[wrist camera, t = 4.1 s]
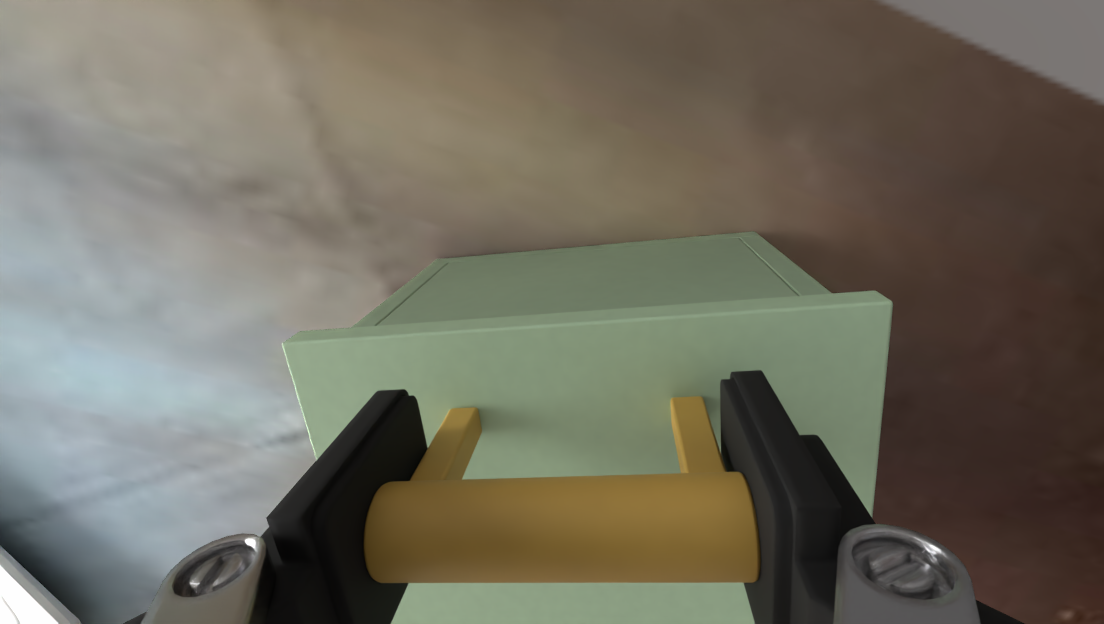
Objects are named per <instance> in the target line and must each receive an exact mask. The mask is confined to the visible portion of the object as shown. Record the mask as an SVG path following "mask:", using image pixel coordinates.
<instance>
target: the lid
mask: <svg viewBox="0 0 1104 624" xmlns="http://www.w3.org/2000/svg"><path fill="white" fill-rule="evenodd" d="M892 309H893V303H892V301H891V300H889V299H888V298H886V297H885V296H883V295H882V294H880V293H879V292H877V291H861V292H847V293H833V294H819V295H805V296H791V297H776V298H762V299H748V300H734V301H720V302H706V303H692V304H678V305H664V306H649V307H635V308H621V309H607V310H593V311H579V312H565V313H551V314H537V315H523V316H508V317H494V318H480V319H466V320H452V321H438V322H424V323H410V324H396V325H381V326H367V327H353V328H339V329H325V330H311V331H300V332H298V333H297V334H295V335H294V336H292V337H291V338H289V339H288V340H286V341H285V342H283V344H282V346H283V349H284V353H285V356H286V360H287V363H288V366H289V370H290V373H291V376H292V380H293V383H294V386H295V390H296V393H297V396H298V400H299V403H300V407H301V410H302V413H303V417H304V420H305V423H306V427H307V430H308V433H309V437H310V440H311V444H312V447H313V450H314V454H315V457H316V460H317V459H318V458H319V457H320V456H321V455H322V453H323V452H324V451H325V450H326V449H327V448H328V447H329V445H330V444H331V443H332V442H333V441H334V440H335V439H336V437H337V436H338V435H339V434H340V433H341V432H342V430H343V429H344V428H345V427H346V426H347V425H348V424H349V422H350V421H351V420H352V419H353V418H354V417H355V416H356V414H357V413H358V412H359V411H360V410H361V409H362V407H363V406H364V405H365V404H366V403H367V402H368V401H369V399H370V398H371V397H372V396H373V395H374V394H375V393H376V392H377V391H379V390H397V389H405V390H406V391H407V392H408V394H409V396H411V395H414V396H415V397H416V399H417V402H418V406H419V410H420V415H421V420H422V424H423V429H424V433H425V438H426V443H427V447H428V449H427V451H426V453H425V454H424V456H423V458H422V460H421V461H420V463H419V465H418V467H417V468H416V470H415V472H414V474H413V476H412V477H411V479H410V481H393V482H388V483H386V484H384V485H382V486H381V487H380V488H379V489H378V490H377V492H376V493H375V495H374V497H373V499H372V501H371V504H370V506H369V510H368V513H367V517H366V522H365V528H364V558H365V563H366V567H367V570H368V572H369V574H370V576H371V577H372V578H373V579H374V580H375V581H377V582H379V583H409V584H408V586H407V588H406V590H405V593H404V595H403V597H402V600H401V602H400V604H399V606H398V609H397V611H396V613H395V615H394V618H393V620H392V622H391V624H755V622H754V619H753V615H752V611H751V608H750V604H749V601H748V597H747V593H746V590H745V586H744V583H753V582H755V581H757V580H758V578H759V574H760V564H761V556H760V540H759V531H758V524H757V517H756V512H755V507H754V502H753V498H752V494H751V491H750V487H749V485H748V482H747V480H746V478H745V476H744V475H743V474H742V473H740V472H727V471H726V468H725V465H724V462H723V459H722V455H721V417H720V382H721V379H730V374H731V372H735V371H754V370H761V371H762V372H763V373H764V375H765V377H766V378H767V380H768V382H769V384H770V385H771V387H772V389H773V390H774V392H775V394H776V395H777V397H778V399H779V401H780V402H781V404H782V406H783V407H784V409H785V411H786V413H787V414H788V416H789V418H790V419H791V421H792V423H793V425H794V426H795V428H796V430H797V431H798V433H799V435H813V434H814V435H818V436H819V437H820V439H821V440H822V441H823V443H824V444H825V446H826V447H827V449H828V450H829V452H830V454H831V455H832V457H833V458H834V460H835V461H836V463H837V464H838V466H839V467H840V469H841V471H842V472H843V474H844V475H845V477H846V478H847V480H848V481H849V483H850V485H851V486H852V488H853V489H854V491H855V492H856V494H857V495H858V497H859V499H860V500H861V502H862V503H863V505H864V506H865V508H866V509H867V511H868V512H869V514H870V516H871V517H872V515H873V505H874V494H875V484H876V474H877V464H878V453H879V443H880V433H881V423H882V412H883V402H884V392H885V381H886V371H887V361H888V351H889V340H890V330H891V320H892Z"/></svg>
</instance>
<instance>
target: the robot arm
mask: <svg viewBox="0 0 1104 624" xmlns="http://www.w3.org/2000/svg"><path fill="white" fill-rule="evenodd" d="M720 417H721V455H722V459H723V462H724V465H725V468H726V471H727V472H740V473H742V474H743V475H744V476H745V478H746V480H747V482H748V485H749V487H750V491H751V494H752V498H753V502H754V507H755V512H756V517H757V524H758V531H759V540H760V556H761V564H760V574H759V578H758V580H757V581H755V582H753V583H744V586H745V590H746V593H747V597H748V601H749V604H750V608H751V611H752V615H753V619H754V622H755V624H1024V623H1022V622H1020V621H1018V620H1016V619H1014V618H1012V617H1010V616H1008V615H1006V614H1004V613H1002V612H1000V611H997V610H995V609H993V608H991V607H989V606H987V605H985V604H983V603H981V602H979V601H977V600H975V595H974V590H973V586H972V581H971V578H970V576H969V574H968V572H967V569H966V567H965V565H964V564H963V563H962V562H961V561H960V560H959V559H958V558H957V557H956V555H955V554H954V553H953V552H951V551H950V550H949V549H947V548H946V547H944V546H943V545H942V544H940V543H939V542H937V541H936V540H934V539H932V538H929V537H927V536H925V535H923V534H921V533H919V532H916V531H913V530H910V529H906V528H903V527H900V526H893V525H885V524H876V523H875V522H874V520H873V519H872V517H871V516H870V514H869V512H868V511H867V509H866V508H865V506H864V505H863V503H862V502H861V500H860V499H859V497H858V495H857V494H856V492H855V491H854V489H853V488H852V486H851V485H850V483H849V481H848V480H847V478H846V477H845V475H844V474H843V472H842V471H841V469H840V467H839V466H838V464H837V463H836V461H835V460H834V458H833V457H832V455H831V454H830V452H829V450H828V449H827V447H826V446H825V444H824V443H823V441H822V440H821V439H820V437H819V436H818V435H814V434H813V435H799V433H798V431H797V430H796V428H795V426H794V425H793V423H792V421H791V419H790V418H789V416H788V414H787V413H786V411H785V409H784V407H783V406H782V404H781V402H780V401H779V399H778V397H777V395H776V394H775V392H774V390H773V389H772V387H771V385H770V384H769V382H768V380H767V378H766V377H765V375H764V373H763V372H762V371H761V370H754V371H735V372H731V374H730V379H721V382H720ZM427 449H428V447H427V443H426V438H425V433H424V429H423V424H422V420H421V415H420V410H419V406H418V402H417V399H416V397H415V396H414V395H411V396H409V394H408V392H407V391H406V390H405V389H397V390H379V391H377V392H376V393H375V394H374V395H373V396H372V397H371V398H370V399H369V401H368V402H367V403H366V404H365V405H364V406H363V407H362V409H361V410H360V411H359V412H358V413H357V414H356V416H355V417H354V418H353V419H352V420H351V421H350V422H349V424H348V425H347V426H346V427H345V428H344V429H343V430H342V432H341V433H340V434H339V435H338V436H337V437H336V439H335V440H334V441H333V442H332V443H331V444H330V445H329V447H328V448H327V449H326V450H325V451H324V452H323V453H322V455H321V456H320V457H319V458H318V459H317V460H316V462H315V463H314V464H313V465H312V466H311V467H310V468H309V470H308V471H307V472H306V473H305V474H304V475H303V477H302V478H301V479H300V480H299V481H298V482H297V483H296V485H295V486H294V487H293V488H292V489H291V490H290V491H289V493H288V494H287V495H286V496H285V497H284V498H283V500H282V501H281V502H280V503H279V504H278V505H277V506H276V508H275V509H274V510H273V511H272V512H271V513H270V514H269V516H268V517H267V521H268V524H269V528H268V529H267V530H266V531H265V533H264V534H263V535H262V536H261V537H259V536H257V535H254V534H236V535H231V536H226V537H224V538H221V539H218V540H215V541H212V542H210V543H208V544H206V545H204V546H202V547H200V548H198V549H197V550H195V551H194V552H192V553H191V554H189V555H188V556H186V557H185V558H183V559H182V560H181V561H180V562H179V563H178V564H177V565H176V566H175V567H174V568H173V569H171V571H170V572H169V573H168V575H167V576H166V578H165V579H164V580H163V582H162V584H161V586H160V588H159V590H158V592H157V594H156V595H155V597H154V599H153V601H152V603H151V605H150V607H149V609H148V611H147V612H145V613H143V614H141V615H139V616H137V617H135V618H133V619H131V620H129V621H127V622H125V623H123V624H391V622H392V620H393V618H394V615H395V613H396V611H397V609H398V606H399V604H400V602H401V600H402V597H403V595H404V593H405V590H406V588H407V586H408V584H409V583H379V582H377V581H375V580H374V579H373V578H372V577H371V576H370V574H369V572H368V570H367V567H366V563H365V558H364V528H365V522H366V517H367V513H368V510H369V506H370V504H371V501H372V499H373V497H374V495H375V493H376V492H377V490H378V489H379V488H380V487H381V486H382V485H384V484H386V483H388V482H393V481H410V479H411V477H412V476H413V474H414V472H415V470H416V468H417V467H418V465H419V463H420V461H421V460H422V458H423V456H424V454H425V453H426V451H427Z"/></svg>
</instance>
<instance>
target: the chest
mask: <svg viewBox="0 0 1104 624" xmlns="http://www.w3.org/2000/svg"><path fill="white" fill-rule="evenodd" d="M819 294H832V293H831V292H830V291H829V290H827V289H826V288H825V287H824V286H822V285H821V284H820V283H819V282H817V281H816V280H815V279H814V278H812V277H811V276H810V275H809V274H807V273H806V272H805V271H804V270H802V269H801V268H800V267H799V266H797V265H796V264H795V263H794V262H792V261H791V260H790V259H789V258H787V257H786V256H785V255H784V254H782V253H781V252H780V251H779V250H777V249H776V248H775V247H774V246H772V245H771V244H770V243H769V242H767V241H766V240H765V239H764V238H762V237H761V236H759V235H758V234H757V233H756V232H754V231H753V232H741V233H730V234H719V235H707V236H696V237H684V238H673V239H661V240H650V241H639V242H627V243H616V244H604V245H593V246H581V247H570V248H559V249H547V250H536V251H524V252H513V253H502V254H490V255H479V256H467V257H456V258H444V259H437V260H435V261H434V262H433V263H431V264H430V265H429V266H428V267H427V268H425V269H424V270H423V271H422V272H420V273H419V274H418V275H417V276H415V277H414V278H413V279H412V280H410V281H409V282H408V283H407V284H405V285H404V286H403V287H401V288H400V289H399V290H398V291H396V292H395V293H394V294H393V295H391V296H390V297H389V298H388V299H386V300H385V301H384V302H383V303H381V304H380V305H379V306H378V307H376V308H375V309H374V310H373V311H371V312H370V313H369V314H368V315H366V316H365V317H364V318H362V319H361V320H360V321H359V322H357V323H356V324H355V325H354V326H352V327H351V328H353V327H367V326H381V325H396V324H410V323H424V322H438V321H452V320H466V319H480V318H494V317H508V316H523V315H537V314H551V313H565V312H579V311H593V310H607V309H621V308H635V307H649V306H664V305H678V304H692V303H706V302H720V301H734V300H748V299H762V298H776V297H791V296H805V295H819Z"/></svg>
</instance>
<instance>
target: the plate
mask: <svg viewBox="0 0 1104 624" xmlns="http://www.w3.org/2000/svg"><path fill="white" fill-rule="evenodd" d="M0 624H81V622H80V620H79V619H78V618H77V617H76V616H75V615H74V614H72V613H71V612H70V611H69V610H68V609H67V608H66V607H65V606H64V605H63V604H62V603H61V602H60V601H59V600H58V599H57V598H55V597H54V596H53V595H52V594H51V593H50V592H49V591H48V590H47V589H46V588H45V587H44V586H43V585H42V584H41V583H39V582H38V581H37V580H36V579H35V578H34V577H33V576H32V575H31V574H30V573H29V572H28V571H27V570H26V569H25V568H24V567H22V566H21V565H20V564H19V563H18V562H17V561H16V560H15V559H14V558H13V557H12V556H11V555H10V554H9V553H8V552H6V551H5V550H4V549H3V548H2V547H1V546H0Z"/></svg>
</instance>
